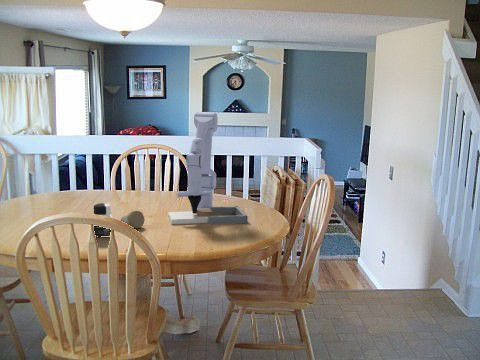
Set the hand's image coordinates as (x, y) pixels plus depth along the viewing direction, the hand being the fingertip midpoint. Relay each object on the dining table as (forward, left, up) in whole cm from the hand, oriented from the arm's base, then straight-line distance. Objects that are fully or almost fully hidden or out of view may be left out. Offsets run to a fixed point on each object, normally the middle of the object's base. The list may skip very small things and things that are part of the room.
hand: (194, 213), depth 217 cm
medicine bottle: (+17, -37, -3) cm, 41 cm away
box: (0, +13, -3) cm, 13 cm away
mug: (+7, -27, -3) cm, 28 cm away
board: (0, -3, -3) cm, 4 cm away
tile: (0, +4, -1) cm, 4 cm away
